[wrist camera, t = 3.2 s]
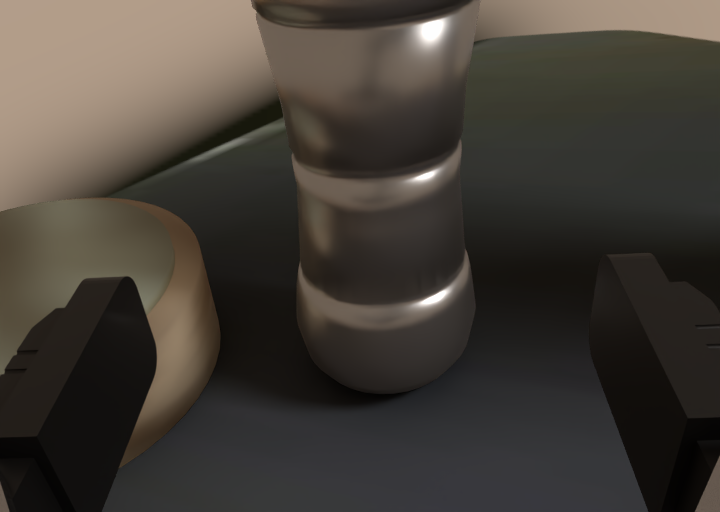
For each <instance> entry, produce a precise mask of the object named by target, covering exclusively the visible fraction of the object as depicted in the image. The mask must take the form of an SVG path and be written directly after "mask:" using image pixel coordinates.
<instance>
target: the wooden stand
mask: <svg viewBox="0 0 720 512" xmlns="http://www.w3.org/2000/svg"><path fill="white" fill-rule="evenodd" d="M122 276H129V277H131V278H132V279H133V280H134V282H135V284H136V286H137V289H138V292H139V295H140V298H141V301H142V304H143V307H144V310H145V313H146V316H147V319H148V322H149V325H150V328H151V331H152V334H153V337H154V340H155V343H156V349H157V367H156V373H155V376H154V379H153V382H152V384H151V387H150V389H149V392H148V395H147V397H146V400H145V402H144V405H143V407H142V410H141V412H140V415H139V417H138V420H137V423H136V425H135V428H134V430H133V433H132V435H131V438H130V440H129V443H128V446H127V448H126V451H125V453H124V456H123V458H122V461H121V463H120V466H119V468H121V467H122V466H124V465H125V464H127V463H128V462H130V461H131V460H133V459H134V458H136V457H137V456H138V455H140V454H141V453H143V452H144V451H146V450H147V449H148V448H149V447H151V446H152V445H153V444H154V443H156V442H157V441H158V440H159V439H160V438H162V437H163V436H164V435H165V434H166V433H167V432H168V431H169V430H170V429H171V428H172V427H173V426H174V425H175V424H176V423H177V422H178V421H179V420H180V419H181V418H182V417H183V416H184V415H185V414H186V413H187V412H188V410H189V409H190V408H191V407H192V405H193V404H194V403H195V402H196V400H197V399H198V398H199V396H200V394H201V393H202V391H203V390H204V388H205V386H206V385H207V383H208V381H209V379H210V377H211V375H212V373H213V370H214V368H215V366H216V362H217V358H218V355H219V351H220V340H221V333H220V326H219V320H218V316H217V312H216V308H215V305H214V301H213V297H212V293H211V289H210V285H209V281H208V277H207V273H206V269H205V265H204V262H203V258H202V254H201V250H200V246H199V243H198V241H197V238H196V236H195V234H194V233H193V231H192V230H191V228H190V227H189V226H188V225H187V224H186V223H185V222H184V221H183V220H182V219H181V218H179V217H178V216H176V215H174V214H173V213H171V212H169V211H167V210H165V209H162V208H160V207H158V206H155V205H151V204H148V203H144V202H140V201H134V200H127V199H117V198H79V199H67V200H58V201H50V202H43V203H37V204H32V205H27V206H21V207H17V208H13V209H9V210H5V211H1V212H0V375H1V374H4V373H5V370H4V369H5V368H6V366H7V365H8V363H9V362H10V360H11V358H12V357H13V355H17V349H18V348H19V346H20V345H21V343H22V342H23V340H24V339H25V337H26V336H27V334H28V333H29V331H30V330H31V328H32V327H34V326H35V325H36V324H37V323H38V322H40V321H41V320H42V319H43V318H44V317H46V316H47V315H48V314H49V313H51V312H52V311H53V310H54V309H55V308H65V307H66V305H67V304H68V302H69V300H70V299H71V297H72V295H73V294H74V292H75V291H76V289H77V287H78V286H79V284H80V283H81V281H83V280H84V279H86V278H101V277H122Z"/></svg>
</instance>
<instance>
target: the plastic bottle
mask: <svg viewBox="0 0 720 512" xmlns="http://www.w3.org/2000/svg"><path fill="white" fill-rule="evenodd" d="M251 2H252V7H253V8H254V9H255V10H256V11H257V14H256V19H257V23H258V26H259V30H260V33H261V37H262V40H263V44H264V47H265V50H266V54H267V57H268V60H269V64H270V67H271V70H272V74H273V77H274V81H275V84H276V88H277V91H278V95H279V98H280V101H281V106H282V111H283V116H284V121H285V127H286V132H287V137H288V142H289V147H290V149H291V150H292V152H293V154H292V163H293V168H294V173H295V178H296V183H297V200H298V222H299V244H300V264H299V268H298V277H297V301H296V314H297V324H298V327H299V329H300V332H301V334H302V337H303V340H304V342H305V345H306V347H307V350H308V352H309V354H310V357H311V359H312V360H313V362H314V363H315V364H316V365H317V366H318V368H319V369H321V370H322V371H323V372H325V373H326V374H327V375H329V376H330V377H331V378H333V379H334V380H336V381H337V382H339V383H340V384H342V385H344V386H346V387H348V388H351V389H354V390H357V391H361V392H365V393H373V394H395V393H401V392H407V391H410V390H413V389H417V388H420V387H422V386H424V385H426V384H428V383H430V382H432V381H434V380H435V379H437V378H438V377H439V376H441V375H442V374H443V373H444V372H445V371H447V370H448V369H449V368H450V367H451V366H452V365H453V364H454V363H455V362H456V361H457V359H458V358H459V357H460V356H461V355H462V353H463V351H464V349H465V347H466V346H467V342H468V338H469V334H470V331H471V327H472V323H473V319H474V314H475V309H476V304H475V296H474V288H473V280H472V272H471V266H470V262H469V258H468V254H467V251H466V249H465V239H464V226H463V212H462V199H461V185H460V163H461V150H462V146H461V140H460V138H461V135H462V132H463V122H464V108H465V94H466V83H467V77H468V71H469V66H470V60H471V54H472V48H473V42H474V36H475V30H476V23H477V18H478V12H479V6H480V0H251Z"/></svg>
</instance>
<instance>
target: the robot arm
mask: <svg viewBox="0 0 720 512" xmlns="http://www.w3.org/2000/svg"><path fill="white" fill-rule="evenodd" d="M589 344H590V351H591V356H592V360H593V363H594V366H595V369H596V371H597V374H598V377H599V380H600V382H601V385H602V388H603V390H604V393H605V396H606V398H607V401H608V404H609V407H610V409H611V412H612V415H613V417H614V420H615V423H616V425H617V428H618V431H619V433H620V436H621V439H622V442H623V444H624V447H625V450H626V452H627V455H628V458H629V460H630V463H631V466H632V468H633V471H634V474H635V477H636V479H637V482H638V485H639V487H640V490H641V493H642V495H643V498H644V501H645V504H646V506H647V509H648V512H720V312H719V310H718V309H717V307H716V306H715V304H714V303H713V301H712V300H711V299H709V298H708V297H707V296H705V295H704V294H703V293H701V292H700V291H699V290H697V289H696V288H694V287H693V286H692V285H690V284H689V283H688V282H686V281H682V282H669V280H668V279H667V277H666V275H665V274H664V272H663V270H662V268H661V267H660V265H659V263H658V262H657V260H656V258H655V257H654V255H652V254H651V253H632V254H611V255H603V256H602V257H601V259H600V261H599V265H598V271H597V278H596V285H595V291H594V298H593V305H592V311H591V318H590V325H589ZM156 367H157V349H156V343H155V340H154V337H153V334H152V331H151V328H150V325H149V322H148V319H147V316H146V313H145V310H144V307H143V304H142V301H141V298H140V295H139V292H138V289H137V286H136V284H135V282H134V280H133V279H132V278H131V277H129V276H122V277H101V278H86V279H84V280H83V281H81V283H80V284H79V286H78V287H77V289H76V291H75V292H74V294H73V295H72V297H71V299H70V300H69V302H68V304H67V305H66V307H65V308H55V309H54V310H53V311H52V312H51V313H49V314H48V315H47V316H46V317H44V318H43V319H42V320H41V321H40V322H38V323H37V324H36V325H35V326H34V327H32V328H31V330H30V331H29V333H28V334H27V336H26V337H25V339H24V340H23V342H22V343H21V345H20V346H19V348H18V349H17V355H13V357H12V358H11V360H10V362H9V363H8V365H7V366H6V368H5V369H4V370H5V373H4V374H1V375H0V512H102V509H103V507H104V504H105V502H106V499H107V497H108V494H109V491H110V489H111V486H112V484H113V481H114V479H115V476H116V474H117V471H118V469H119V466H120V463H121V461H122V458H123V456H124V453H125V451H126V448H127V446H128V443H129V440H130V438H131V435H132V433H133V430H134V428H135V425H136V423H137V420H138V417H139V415H140V412H141V410H142V407H143V405H144V402H145V400H146V397H147V395H148V392H149V389H150V387H151V384H152V382H153V379H154V376H155V373H156Z"/></svg>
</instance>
